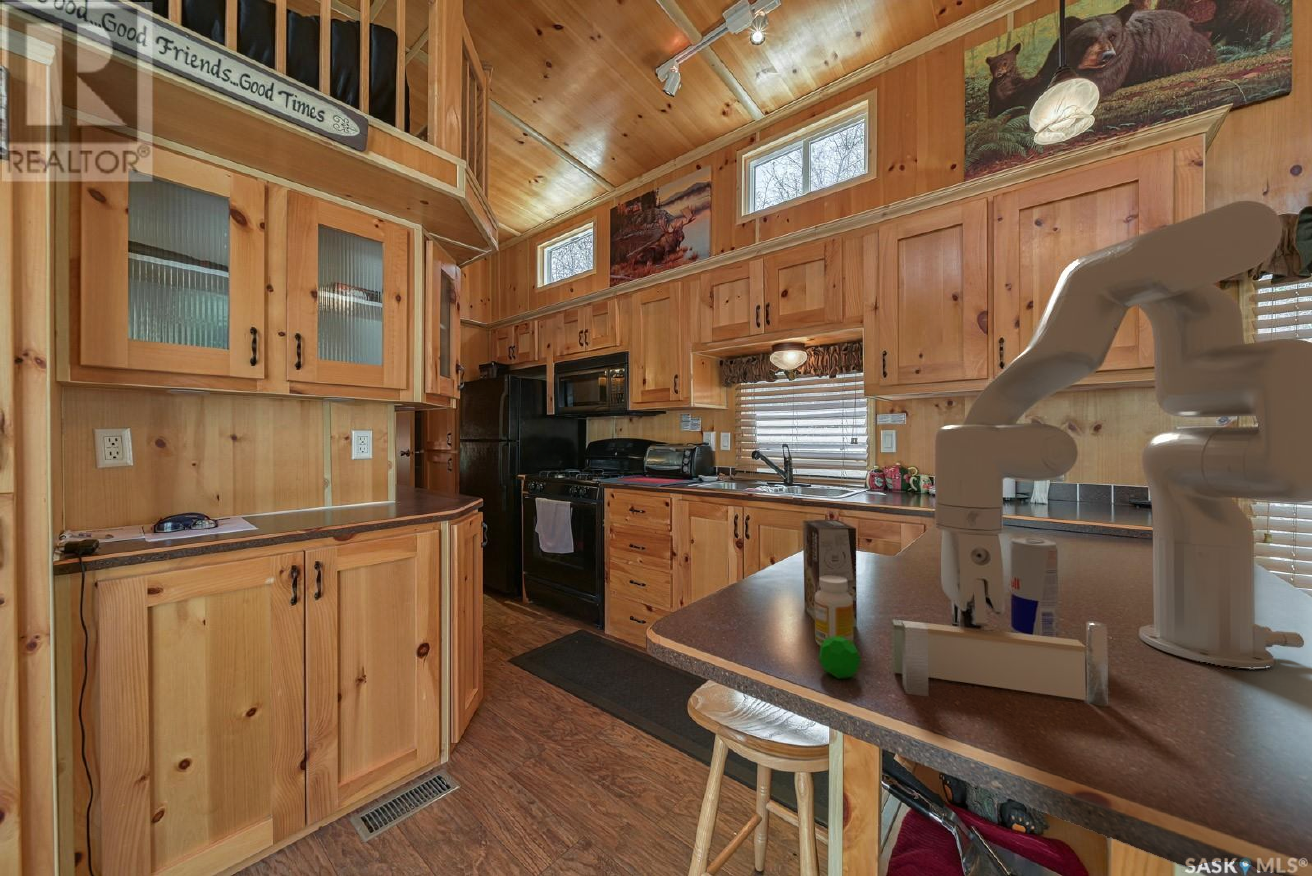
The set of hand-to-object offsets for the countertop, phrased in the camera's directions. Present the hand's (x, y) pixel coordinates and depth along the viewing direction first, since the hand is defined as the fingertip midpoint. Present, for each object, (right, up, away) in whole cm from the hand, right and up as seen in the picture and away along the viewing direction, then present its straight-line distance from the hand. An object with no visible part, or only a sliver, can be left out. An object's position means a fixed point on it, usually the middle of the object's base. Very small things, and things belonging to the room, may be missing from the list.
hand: (967, 657), depth 64 cm
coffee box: (-11, -2, +19) cm, 22 cm away
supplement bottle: (-14, -2, +9) cm, 17 cm away
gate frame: (0, -2, -6) cm, 7 cm away
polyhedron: (-17, -2, -1) cm, 17 cm away
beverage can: (+16, -2, +9) cm, 18 cm away
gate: (-1, -1, -4) cm, 4 cm away
